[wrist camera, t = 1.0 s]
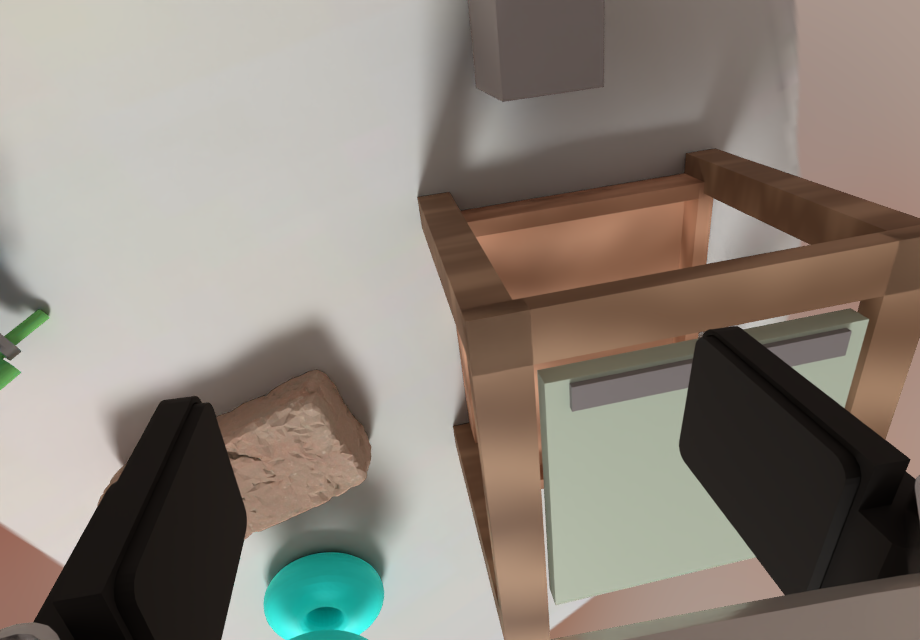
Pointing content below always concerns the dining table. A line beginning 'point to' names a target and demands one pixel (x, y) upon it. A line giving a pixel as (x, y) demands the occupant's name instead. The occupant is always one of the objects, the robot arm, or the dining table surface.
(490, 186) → the dining table surface
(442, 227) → the frame
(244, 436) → the brick
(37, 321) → the gear
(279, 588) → the donuts
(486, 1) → the grey squarish block
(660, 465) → the trapdoor
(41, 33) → the dining table surface
